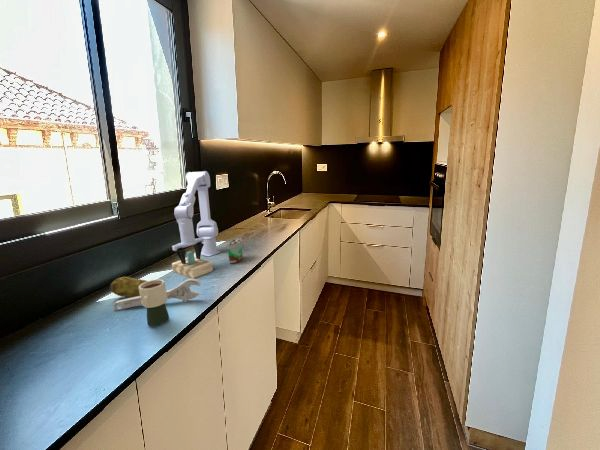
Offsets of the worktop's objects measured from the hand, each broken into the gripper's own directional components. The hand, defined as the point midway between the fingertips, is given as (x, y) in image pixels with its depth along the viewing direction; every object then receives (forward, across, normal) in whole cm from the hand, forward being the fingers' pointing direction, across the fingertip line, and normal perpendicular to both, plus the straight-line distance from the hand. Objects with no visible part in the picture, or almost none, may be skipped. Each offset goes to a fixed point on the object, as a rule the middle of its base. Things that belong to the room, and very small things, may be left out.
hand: (191, 261), depth 129 cm
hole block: (+5, 0, 0) cm, 5 cm away
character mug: (+5, -31, -29) cm, 43 cm away
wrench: (+5, -25, -17) cm, 31 cm away
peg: (+5, 0, 0) cm, 5 cm away
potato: (+5, -27, -2) cm, 27 cm away
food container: (+5, +20, -8) cm, 22 cm away
